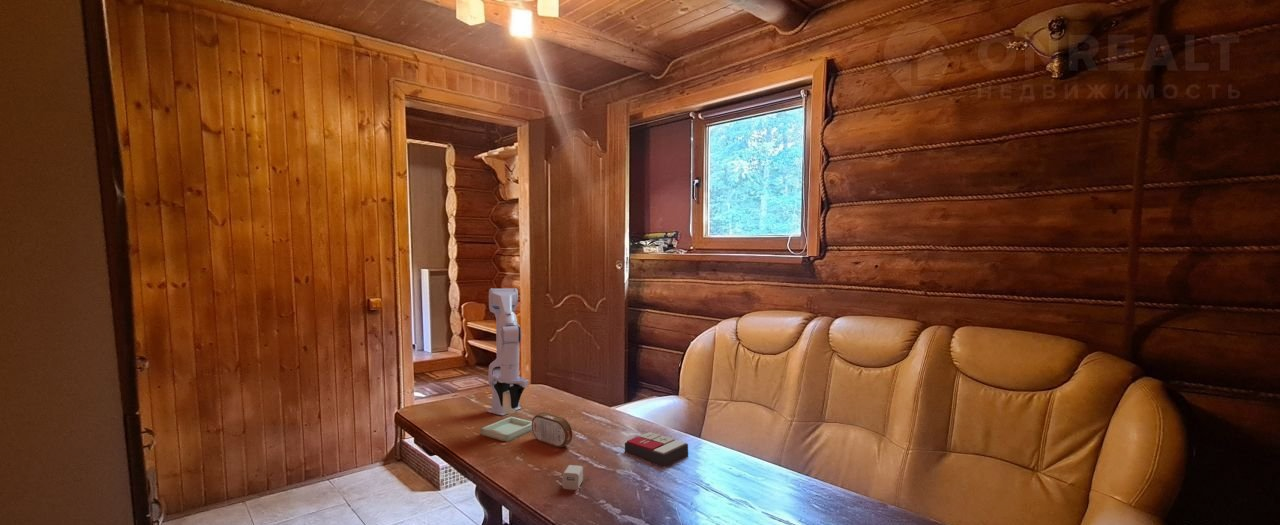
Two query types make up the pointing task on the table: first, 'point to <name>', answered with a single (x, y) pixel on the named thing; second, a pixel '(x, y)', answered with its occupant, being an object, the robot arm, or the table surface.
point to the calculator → (657, 449)
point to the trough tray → (507, 429)
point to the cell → (507, 403)
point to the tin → (552, 429)
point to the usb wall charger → (572, 477)
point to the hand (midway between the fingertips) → (509, 406)
